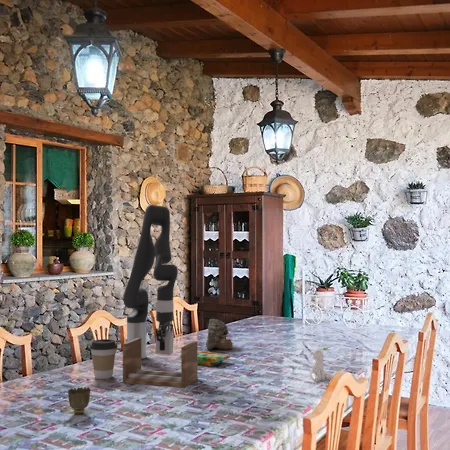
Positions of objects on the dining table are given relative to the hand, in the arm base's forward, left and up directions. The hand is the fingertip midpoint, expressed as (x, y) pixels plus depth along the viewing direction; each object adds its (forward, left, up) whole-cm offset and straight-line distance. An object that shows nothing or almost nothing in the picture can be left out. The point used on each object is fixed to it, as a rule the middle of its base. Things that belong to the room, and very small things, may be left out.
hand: (164, 349), depth 267 cm
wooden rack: (+6, -17, -9) cm, 20 cm away
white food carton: (0, 0, -2) cm, 2 cm away
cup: (-2, -66, -10) cm, 67 cm away
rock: (+7, +53, -10) cm, 55 cm away
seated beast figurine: (+67, +5, -10) cm, 68 cm away
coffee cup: (-19, -19, -10) cm, 29 cm away
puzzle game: (+12, +20, -10) cm, 26 cm away
